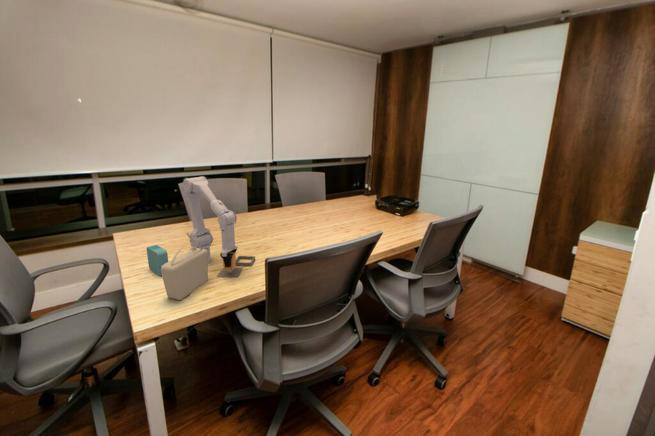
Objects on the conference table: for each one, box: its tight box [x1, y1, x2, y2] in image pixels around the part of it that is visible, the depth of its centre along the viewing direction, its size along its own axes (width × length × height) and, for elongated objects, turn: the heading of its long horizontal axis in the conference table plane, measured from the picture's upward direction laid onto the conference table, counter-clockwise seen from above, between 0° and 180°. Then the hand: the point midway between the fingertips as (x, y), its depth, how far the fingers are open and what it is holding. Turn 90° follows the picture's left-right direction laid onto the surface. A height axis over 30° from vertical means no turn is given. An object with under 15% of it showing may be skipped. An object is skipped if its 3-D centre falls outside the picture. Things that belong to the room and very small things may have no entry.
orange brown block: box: [222, 252, 237, 270], centre depth 153 cm, size 4×4×7 cm
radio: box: [161, 231, 209, 301], centre depth 136 cm, size 22×8×25 cm, turn 163°
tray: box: [236, 255, 256, 267], centre depth 166 cm, size 9×9×2 cm
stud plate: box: [216, 267, 244, 279], centre depth 154 cm, size 10×10×4 cm
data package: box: [146, 244, 169, 277], centre depth 153 cm, size 12×4×12 cm, turn 50°
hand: (229, 264), depth 153 cm, fingers closed on orange brown block, 4 cm apart
